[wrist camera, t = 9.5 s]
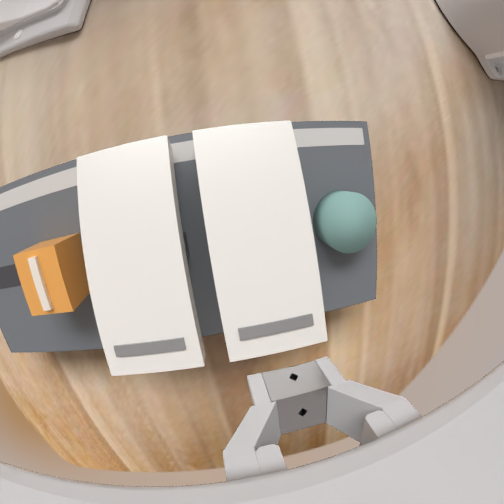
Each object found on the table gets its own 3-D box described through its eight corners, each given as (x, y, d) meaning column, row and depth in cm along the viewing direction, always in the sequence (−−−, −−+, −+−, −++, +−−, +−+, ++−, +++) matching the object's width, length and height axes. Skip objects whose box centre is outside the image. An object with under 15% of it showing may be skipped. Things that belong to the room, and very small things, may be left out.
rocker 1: (172, 147, 13) (166, 133, 11) (205, 353, 13) (204, 367, 11) (89, 166, 12) (75, 156, 11) (121, 363, 13) (110, 377, 11)
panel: (337, 130, 18) (375, 118, 13) (348, 279, 21) (383, 304, 16) (-2, 197, 15) (-42, 205, 10) (33, 328, 18) (5, 359, 13)
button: (361, 188, 15) (375, 189, 14) (364, 242, 16) (377, 248, 15) (310, 193, 15) (320, 195, 14) (315, 251, 16) (325, 258, 14)
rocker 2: (283, 133, 14) (291, 119, 12) (315, 331, 14) (328, 341, 12) (194, 143, 13) (191, 129, 11) (228, 350, 13) (230, 363, 11)
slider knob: (79, 232, 13) (51, 246, 10) (93, 288, 14) (71, 313, 11) (40, 242, 13) (10, 256, 10) (55, 294, 14) (29, 318, 11)
